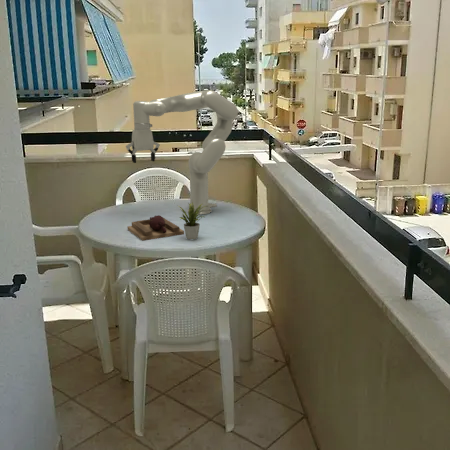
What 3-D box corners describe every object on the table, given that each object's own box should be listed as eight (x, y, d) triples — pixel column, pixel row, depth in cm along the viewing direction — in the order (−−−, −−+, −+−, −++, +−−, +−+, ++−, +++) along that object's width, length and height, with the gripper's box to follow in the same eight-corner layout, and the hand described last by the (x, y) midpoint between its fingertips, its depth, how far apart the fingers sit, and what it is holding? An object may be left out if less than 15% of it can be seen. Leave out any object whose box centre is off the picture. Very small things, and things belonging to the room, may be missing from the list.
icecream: (141, 214, 235) (155, 224, 223) (155, 208, 238) (170, 217, 226) (144, 227, 238) (159, 237, 226) (158, 221, 241) (173, 231, 229)
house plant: (216, 239, 223) (216, 203, 218) (188, 245, 215) (187, 207, 211) (199, 232, 234) (199, 197, 230) (173, 236, 227) (171, 201, 222)
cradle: (167, 223, 248) (166, 216, 247) (184, 234, 231) (183, 226, 230) (127, 229, 238) (127, 222, 237) (142, 240, 222) (141, 233, 221)
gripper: (155, 125, 256) (157, 159, 260) (122, 127, 248) (124, 162, 252) (161, 126, 250) (162, 161, 254) (127, 128, 241) (129, 164, 246)
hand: (143, 161), depth 253 cm, fingers open, 9 cm apart
